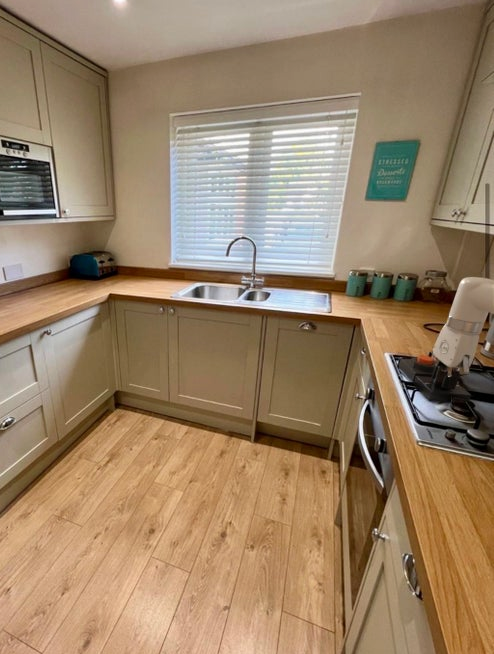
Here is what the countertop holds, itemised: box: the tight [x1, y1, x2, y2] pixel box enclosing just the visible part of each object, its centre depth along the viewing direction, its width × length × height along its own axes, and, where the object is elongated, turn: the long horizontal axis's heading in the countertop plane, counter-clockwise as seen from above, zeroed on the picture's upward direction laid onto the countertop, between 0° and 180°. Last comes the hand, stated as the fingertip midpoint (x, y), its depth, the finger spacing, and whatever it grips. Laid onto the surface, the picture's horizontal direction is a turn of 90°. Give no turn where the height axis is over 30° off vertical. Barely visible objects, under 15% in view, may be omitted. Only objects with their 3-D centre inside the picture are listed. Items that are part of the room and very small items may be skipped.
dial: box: [433, 366, 457, 388], centre depth 94 cm, size 4×4×5 cm
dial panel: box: [412, 376, 472, 404], centre depth 96 cm, size 10×9×3 cm
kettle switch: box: [417, 354, 434, 365], centre depth 104 cm, size 4×4×2 cm
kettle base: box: [398, 356, 435, 383], centre depth 105 cm, size 9×10×5 cm
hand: (442, 383), depth 95 cm, fingers closed on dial, 4 cm apart
